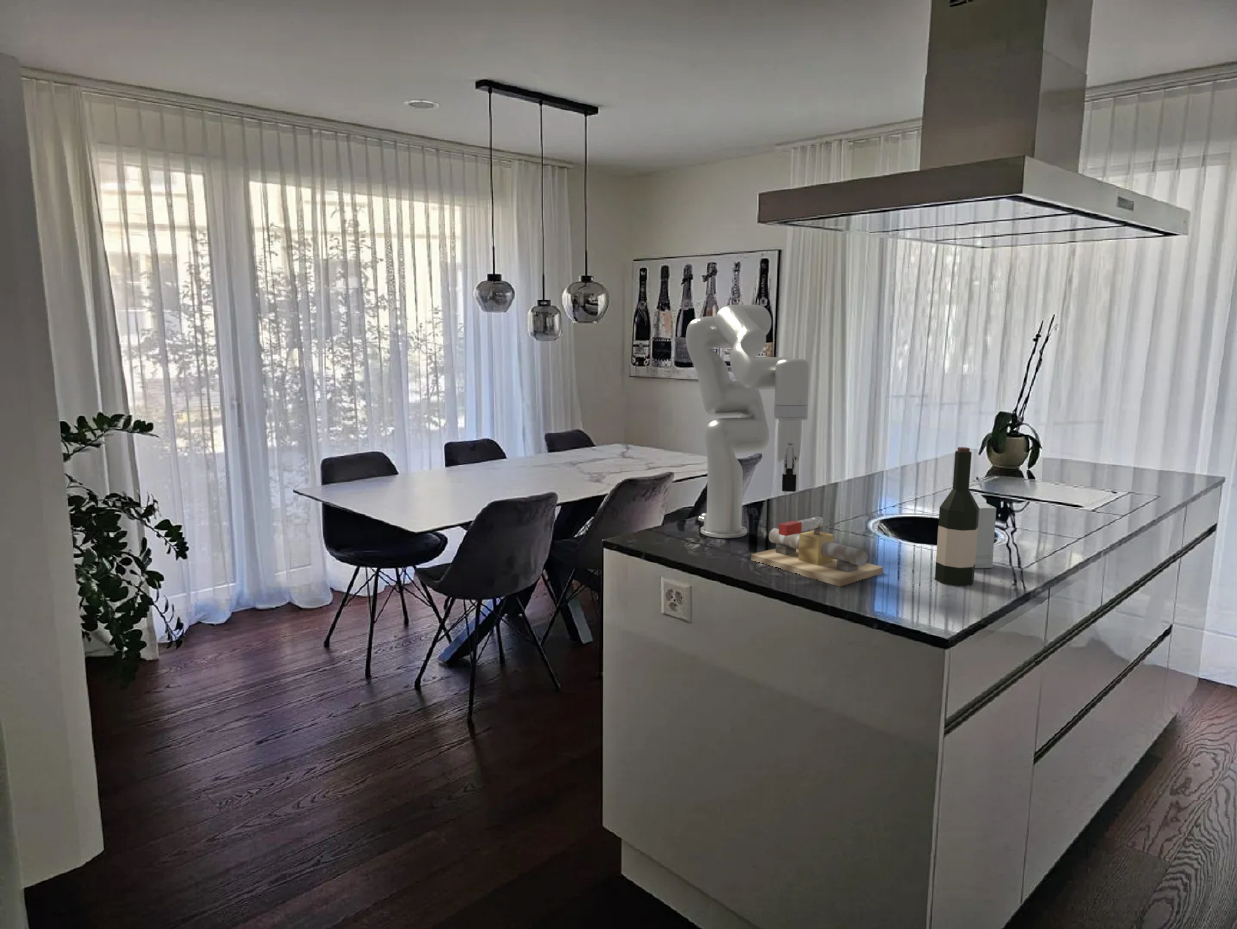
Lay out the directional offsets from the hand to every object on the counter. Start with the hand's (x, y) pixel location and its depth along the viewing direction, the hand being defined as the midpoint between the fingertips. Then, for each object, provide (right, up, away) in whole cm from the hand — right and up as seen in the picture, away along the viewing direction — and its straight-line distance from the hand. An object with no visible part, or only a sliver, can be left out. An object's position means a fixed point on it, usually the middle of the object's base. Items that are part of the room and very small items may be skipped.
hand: (788, 490), depth 194 cm
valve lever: (+2, -9, -3) cm, 10 cm away
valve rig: (+7, -18, +2) cm, 19 cm away
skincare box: (+44, -18, +3) cm, 48 cm away
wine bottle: (+35, -20, -8) cm, 41 cm away
